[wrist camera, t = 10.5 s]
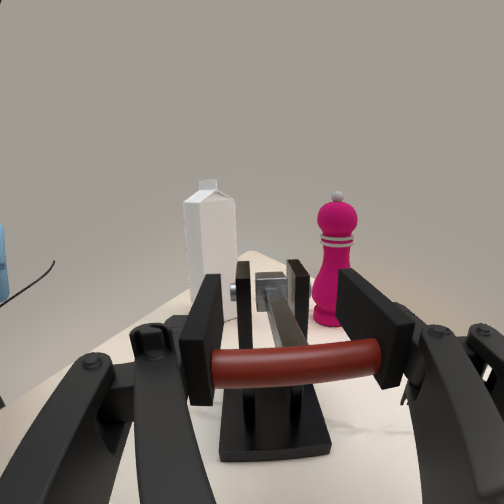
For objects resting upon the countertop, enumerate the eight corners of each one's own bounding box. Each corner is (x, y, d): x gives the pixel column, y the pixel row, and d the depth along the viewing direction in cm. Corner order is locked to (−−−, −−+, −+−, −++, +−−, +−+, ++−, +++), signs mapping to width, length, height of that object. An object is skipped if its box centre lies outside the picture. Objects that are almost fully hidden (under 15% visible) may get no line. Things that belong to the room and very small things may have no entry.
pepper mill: (312, 308, 49) (314, 190, 44) (353, 309, 47) (359, 191, 42) (308, 327, 42) (311, 190, 37) (355, 329, 40) (364, 192, 35)
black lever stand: (329, 454, 19) (358, 293, 15) (220, 461, 18) (195, 301, 15) (305, 375, 30) (311, 248, 27) (226, 379, 30) (216, 251, 27)
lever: (377, 391, 9) (386, 333, 9) (214, 406, 9) (207, 347, 9) (305, 299, 23) (305, 270, 23) (232, 302, 23) (230, 273, 23)
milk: (208, 327, 43) (197, 179, 38) (192, 313, 48) (180, 181, 43) (241, 316, 47) (234, 178, 41) (222, 305, 51) (214, 180, 46)
